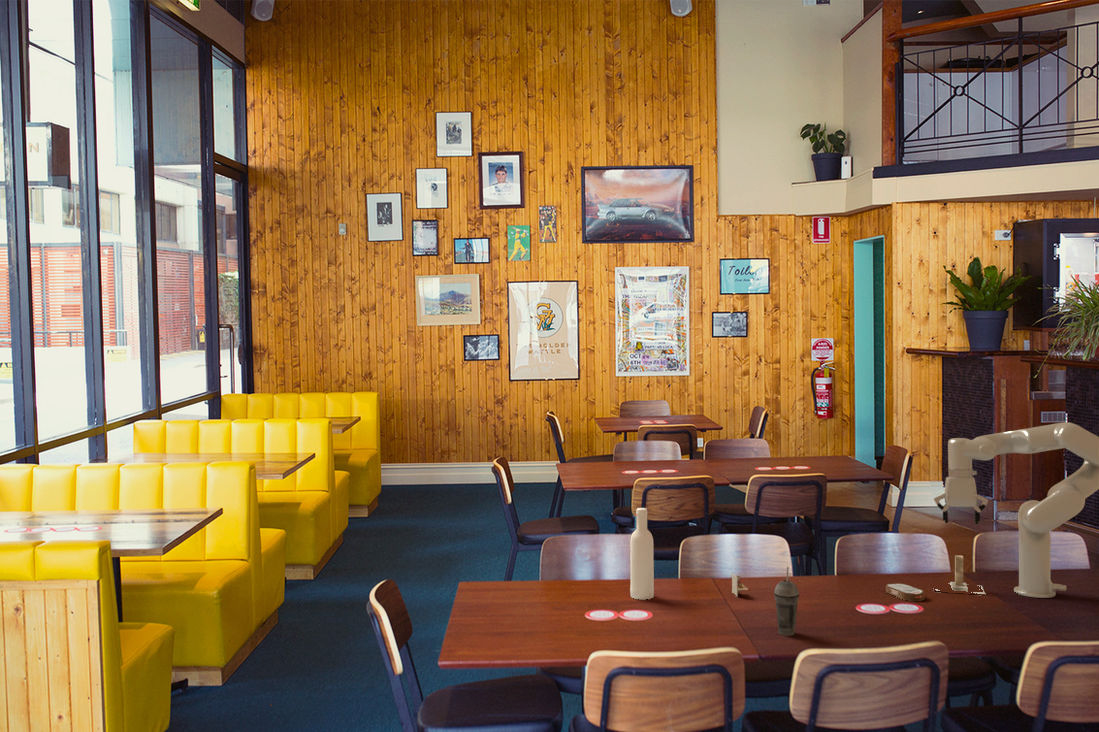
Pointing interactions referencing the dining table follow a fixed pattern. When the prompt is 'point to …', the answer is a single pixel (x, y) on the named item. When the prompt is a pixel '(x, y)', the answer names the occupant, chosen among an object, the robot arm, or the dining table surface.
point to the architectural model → (735, 585)
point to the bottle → (642, 559)
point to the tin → (905, 592)
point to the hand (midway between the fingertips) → (961, 523)
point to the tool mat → (973, 592)
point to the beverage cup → (786, 606)
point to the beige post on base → (959, 575)
